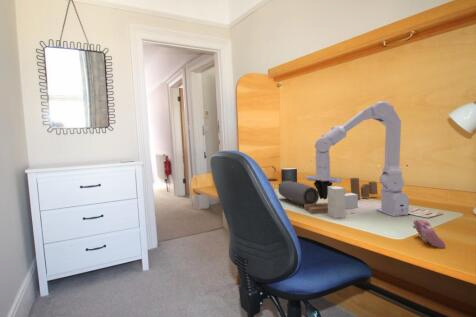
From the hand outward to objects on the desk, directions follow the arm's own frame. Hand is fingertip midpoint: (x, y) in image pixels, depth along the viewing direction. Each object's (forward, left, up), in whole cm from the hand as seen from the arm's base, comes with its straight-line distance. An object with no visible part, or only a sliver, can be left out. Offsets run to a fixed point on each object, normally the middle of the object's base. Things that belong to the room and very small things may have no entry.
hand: (323, 198), depth 113 cm
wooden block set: (+17, -27, -6) cm, 32 cm away
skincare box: (-10, 0, -6) cm, 11 cm away
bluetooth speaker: (+17, +5, -6) cm, 19 cm away
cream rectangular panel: (-7, -8, -5) cm, 12 cm away
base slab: (0, 0, -5) cm, 5 cm away
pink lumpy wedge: (-40, -12, -6) cm, 42 cm away
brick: (+2, -12, -6) cm, 13 cm away
